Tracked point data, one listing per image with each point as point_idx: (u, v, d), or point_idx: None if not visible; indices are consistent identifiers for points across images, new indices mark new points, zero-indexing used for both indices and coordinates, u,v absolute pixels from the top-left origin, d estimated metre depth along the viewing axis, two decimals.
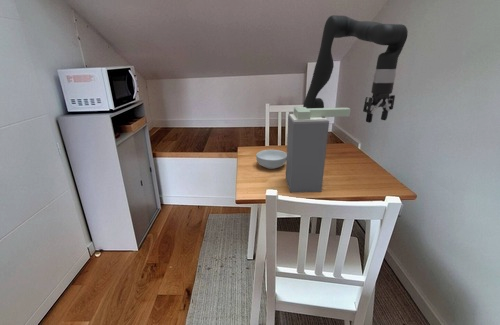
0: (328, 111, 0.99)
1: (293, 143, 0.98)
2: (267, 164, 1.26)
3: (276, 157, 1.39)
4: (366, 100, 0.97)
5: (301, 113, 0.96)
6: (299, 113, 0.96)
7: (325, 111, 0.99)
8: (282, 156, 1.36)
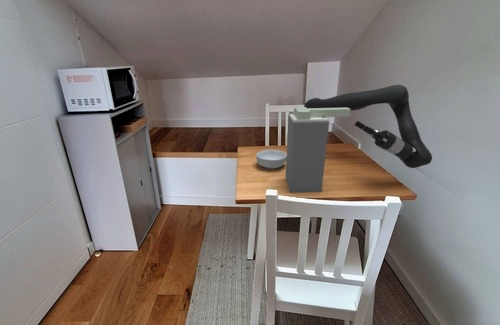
0: (328, 111, 0.99)
1: (293, 143, 0.98)
2: (267, 164, 1.26)
3: (276, 157, 1.39)
4: (385, 138, 0.98)
5: (301, 113, 0.96)
6: (299, 113, 0.96)
7: (325, 111, 0.99)
8: (282, 156, 1.36)
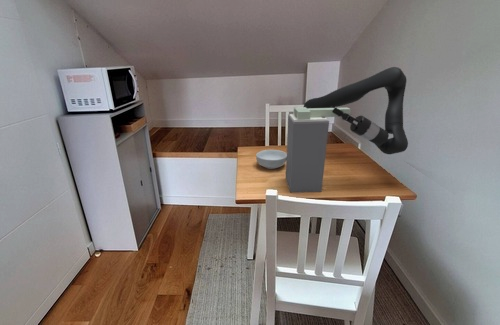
0: (328, 111, 0.99)
1: (293, 143, 0.98)
2: (267, 164, 1.26)
3: (276, 157, 1.39)
4: (355, 120, 0.96)
5: (301, 113, 0.96)
6: (299, 113, 0.96)
7: (325, 111, 0.99)
8: (282, 156, 1.36)
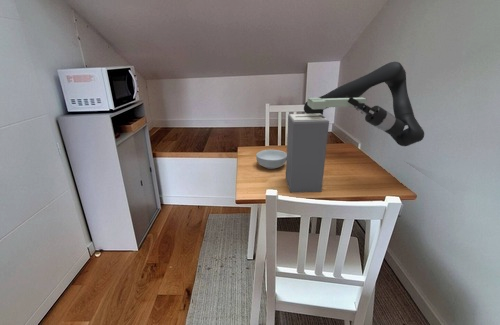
0: (343, 101, 0.97)
1: (293, 143, 0.98)
2: (267, 164, 1.26)
3: (276, 157, 1.39)
4: (371, 110, 0.94)
5: (316, 103, 0.94)
6: (314, 103, 0.94)
7: (340, 101, 0.97)
8: (282, 156, 1.36)
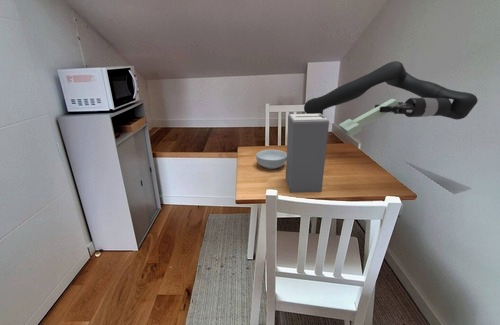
0: (375, 113, 0.96)
1: (293, 143, 0.98)
2: (267, 164, 1.26)
3: (276, 157, 1.39)
4: (408, 109, 0.91)
5: (351, 130, 0.95)
6: (349, 131, 0.95)
7: (372, 115, 0.96)
8: (282, 156, 1.36)
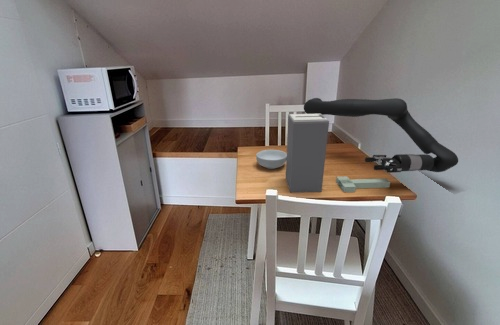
0: (370, 184, 1.09)
1: (293, 143, 0.98)
2: (267, 164, 1.26)
3: (276, 157, 1.39)
4: (399, 168, 1.00)
5: (347, 188, 1.06)
6: (345, 188, 1.06)
7: (367, 184, 1.09)
8: (282, 156, 1.36)
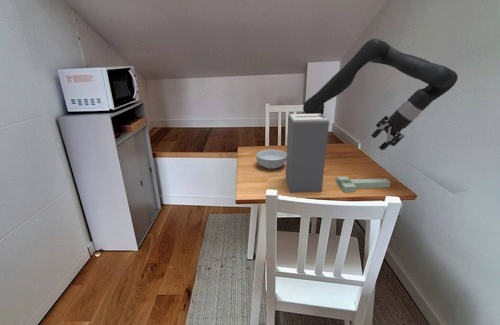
0: (370, 184, 1.09)
1: (293, 143, 0.98)
2: (267, 164, 1.26)
3: (276, 157, 1.39)
4: (399, 136, 0.97)
5: (347, 188, 1.06)
6: (345, 188, 1.06)
7: (367, 184, 1.09)
8: (282, 156, 1.36)
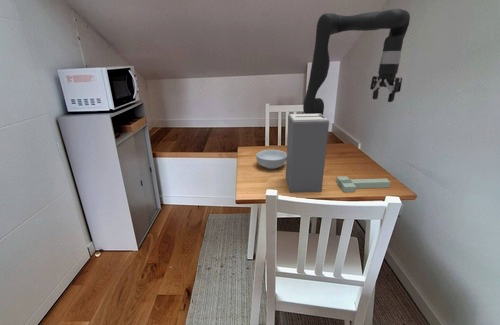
0: (370, 184, 1.09)
1: (293, 143, 0.98)
2: (267, 164, 1.26)
3: (276, 157, 1.39)
4: (398, 80, 1.02)
5: (347, 188, 1.06)
6: (345, 188, 1.06)
7: (367, 184, 1.09)
8: (282, 156, 1.36)
